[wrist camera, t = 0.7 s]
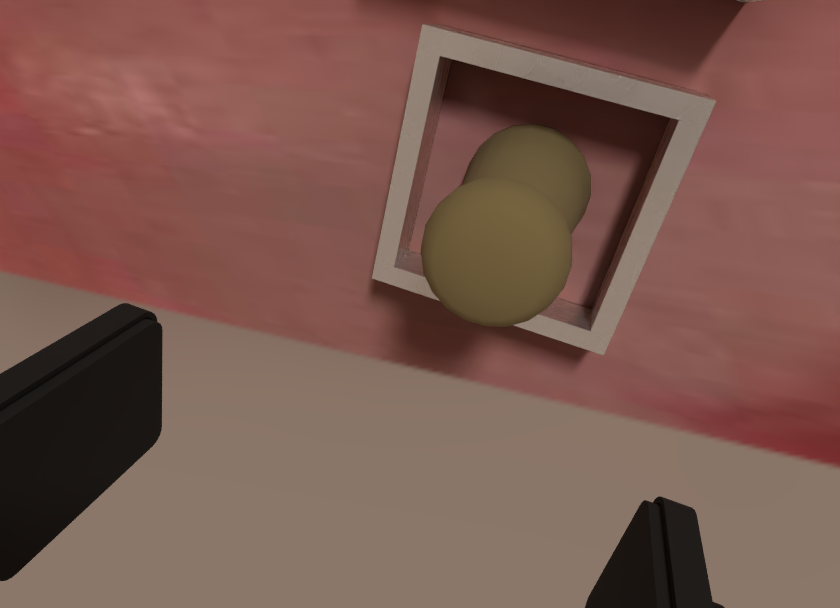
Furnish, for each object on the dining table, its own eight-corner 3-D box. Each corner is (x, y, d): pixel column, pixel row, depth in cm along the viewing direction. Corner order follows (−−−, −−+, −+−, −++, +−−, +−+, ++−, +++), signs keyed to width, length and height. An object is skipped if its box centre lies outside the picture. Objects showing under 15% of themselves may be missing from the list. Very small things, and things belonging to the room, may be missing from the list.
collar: (706, 94, 25) (716, 100, 23) (603, 331, 31) (603, 355, 28) (437, 23, 27) (422, 24, 24) (387, 261, 32) (371, 278, 30)
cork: (480, 256, 31) (423, 362, 21) (452, 140, 29) (374, 199, 19) (600, 236, 29) (598, 343, 19) (579, 109, 26) (564, 158, 17)
